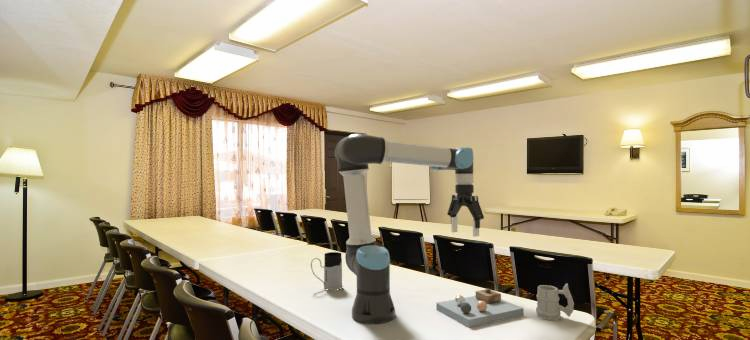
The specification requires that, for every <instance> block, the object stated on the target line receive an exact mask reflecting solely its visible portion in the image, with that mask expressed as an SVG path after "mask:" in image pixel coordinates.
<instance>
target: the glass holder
mask: <svg viewBox="0 0 750 340" xmlns="http://www.w3.org/2000/svg"><path fill="white" fill-rule="evenodd" d="M323 255H324V264H323V266H322V260H321V259H320V258H319V257H314V258H313V259H312V260H311V262H310V269H311V272H312V274H313V275H314V277H315V278H317V279H318V280H319V281H321V282H322V283H323V287H324V289H328V290H337V289H340V288H342V287H343V288H344V286H343V259H342V252H339V251H338V252H337V251H333V252H331V251H330V252H326V253H324V254H323ZM314 260H318V261H319V263H320V264H319V265H320V267H321V269H322V268H323V271H324V272H323V279H321V278H320V277H319V276H317V274H315V271H314V270H313V262H314ZM324 289H323V290H324ZM337 291H338V290H337Z"/></svg>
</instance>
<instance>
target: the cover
mask: <svg viewBox="0 0 750 340" xmlns="http://www.w3.org/2000/svg"><path fill="white" fill-rule="evenodd" d="M475 296H476V298H477V299H479V300H481V301H484V302H486V303H491V302H496V301H501V299H502V294H501V293H500V292H498V291H494V290H493V289H491V288H485V289H481V290H476V291H475Z"/></svg>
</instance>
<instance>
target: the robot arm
mask: <svg viewBox="0 0 750 340" xmlns="http://www.w3.org/2000/svg"><path fill="white" fill-rule="evenodd" d="M473 150H474V149H473V148H471V147H456V148H452V147H451V148H450V147H449V148H448V147H441V146H432V145H424V144H417V143H415V144H414V143H409V142H408V143H406V142H398V141H390V140H386V138H385V137H382V136H375V135H370V134H369V135H368V134H364V133H352V134H350V135H348V136H346V137H343V138H342V139H340V140H339V142H338V143H337V144H336V146H335V149H334V156H335V160H336V162H337V167H338V168H337V169H338V173H339V174H340V175H341V176H342V178H343V184H344V196H345V205H346V215H347V216H346V217H347V225H348V226H347V228H348V234H349V235H348V236H349V238H348V239H347V240H346V242H345V245H346V252H345V258H344V259H345V264H346V266H347V268H348V270H350V271H351V272H352V273H353V274H354V275H355V276H356V295H355V299H354V301H353V305H352V309H351V317H352V318H354V319H353V320H355V321H356V322H359V321H360V323H363V322H364V323H365V324H382V323H386V322H389V321H391V320H394V319H395V316H396V308H395V305H394V301H393V298H392V296H391V290H390V289H391V282H390V278H391V277H390V274H391V271H390V268H391V266H390V265H391V256H390V253H389V250H388V249H387V248H386V247H383V246H380V245H377V241H376V240H377V239H376V238H375V237H374V236H373V235H372V229H371V227H372V226H371V218H370V207H369V197H368V190H367V189H368V188H367V187H368V186H367V179H366V174H367V172H368V171H369V165H370V164H379V165H382V164H383V163H384V162H385V163H392V164H393V163H395V164H403V165H404V164H405V165H415V166H416V165H417V166H426V167H429V169H431V170H437V171H447V170H448V171H454V175H455V176H454V179H455V181H454V182H455V186H454V187H455V190H454V192H455V194H452V195H451V201H450V204H449V206H448V211H447V216H449V217H450V224H451V228H450V229H451V233H458V216H457V215H458V213H459V212H460V211H461V208H462V207H466V208H467V209H468V211H469V213H470V214H471V216H472V218H473V220H472V237H474V238H475V237H480V228H481V220H484V219H485V216H484V214H483V210H482V206H481V205H480V202H479V196H478V195H473V194H474V190H475V189H474V151H473Z"/></svg>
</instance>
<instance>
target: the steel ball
mask: <svg viewBox="0 0 750 340" xmlns="http://www.w3.org/2000/svg"><path fill="white" fill-rule="evenodd" d="M464 298H465V297H464V295H461V294H459V295H456V296H455V298H454V300H455V302H456V304H457V305H459V306H461V304H462V303H464V302H465V299H464Z"/></svg>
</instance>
